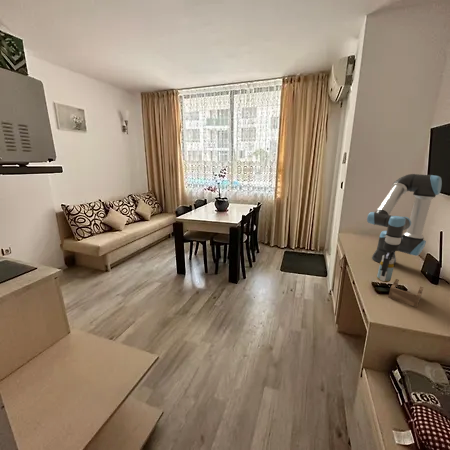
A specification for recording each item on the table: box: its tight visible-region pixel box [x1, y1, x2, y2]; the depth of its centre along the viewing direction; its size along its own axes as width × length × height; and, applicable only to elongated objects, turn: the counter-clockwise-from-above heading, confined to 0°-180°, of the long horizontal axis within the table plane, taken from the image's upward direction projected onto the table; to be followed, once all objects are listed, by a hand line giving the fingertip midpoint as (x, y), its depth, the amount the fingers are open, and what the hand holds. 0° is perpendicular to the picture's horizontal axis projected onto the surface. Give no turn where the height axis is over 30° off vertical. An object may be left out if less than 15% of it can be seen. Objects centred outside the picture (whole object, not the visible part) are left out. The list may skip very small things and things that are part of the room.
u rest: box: [388, 278, 424, 308], centre depth 135 cm, size 14×13×6 cm
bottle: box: [376, 255, 395, 283], centre depth 147 cm, size 7×7×15 cm
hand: (383, 278), depth 149 cm, fingers closed on bottle, 7 cm apart
